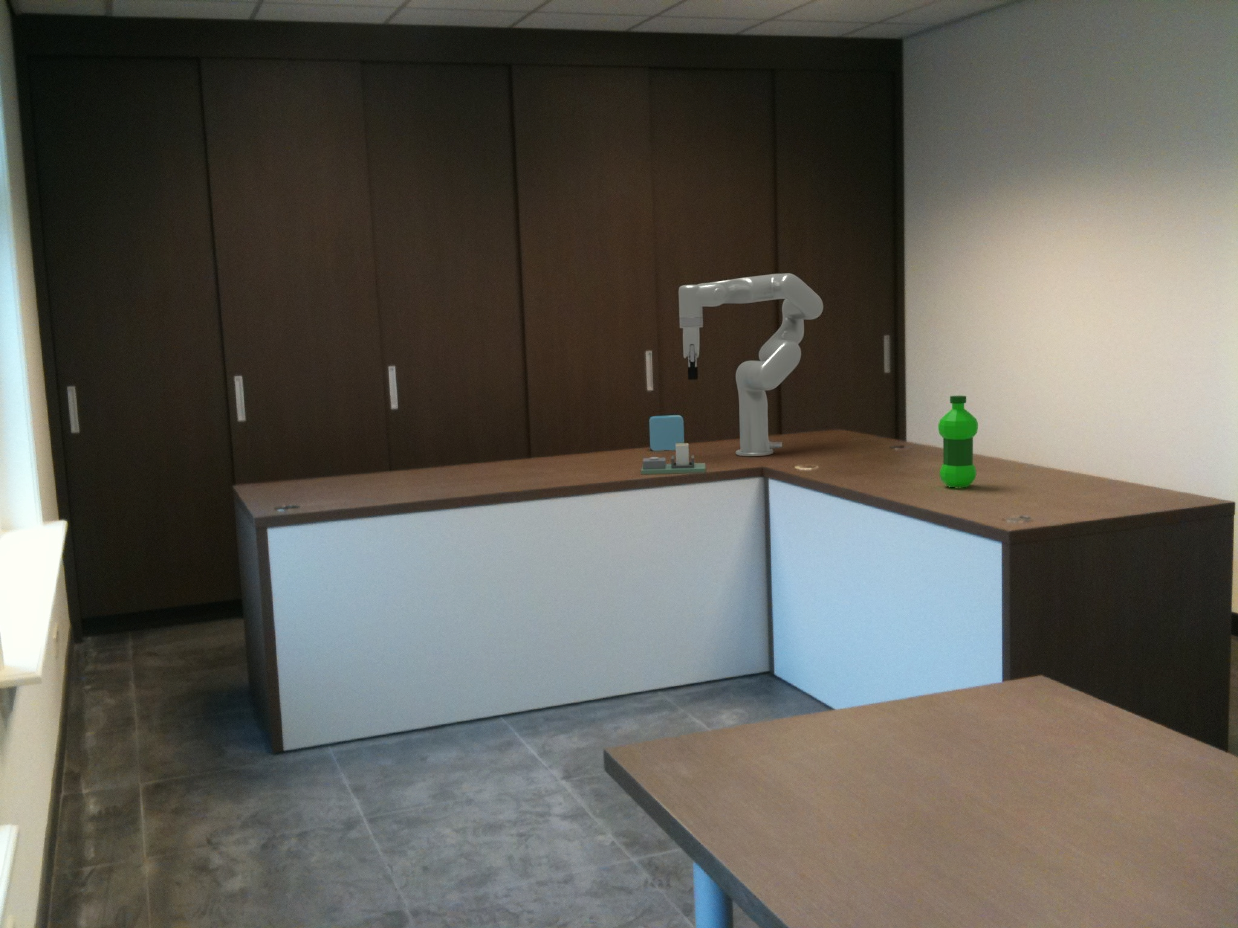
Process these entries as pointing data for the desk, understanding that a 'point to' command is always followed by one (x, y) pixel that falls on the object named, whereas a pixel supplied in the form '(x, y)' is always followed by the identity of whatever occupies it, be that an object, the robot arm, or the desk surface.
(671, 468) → the board
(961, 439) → the plastic bottle
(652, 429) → the blue rounded square block
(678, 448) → the plug
